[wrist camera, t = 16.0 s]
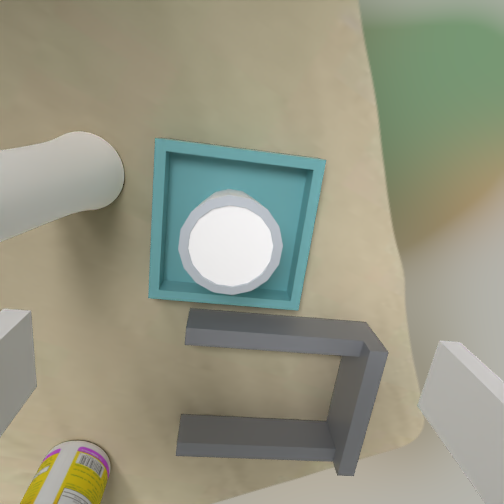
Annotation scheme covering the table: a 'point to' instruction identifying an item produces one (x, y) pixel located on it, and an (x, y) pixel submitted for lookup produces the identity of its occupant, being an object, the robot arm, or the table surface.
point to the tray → (237, 178)
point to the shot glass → (230, 243)
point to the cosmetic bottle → (56, 180)
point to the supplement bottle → (70, 475)
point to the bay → (285, 430)
